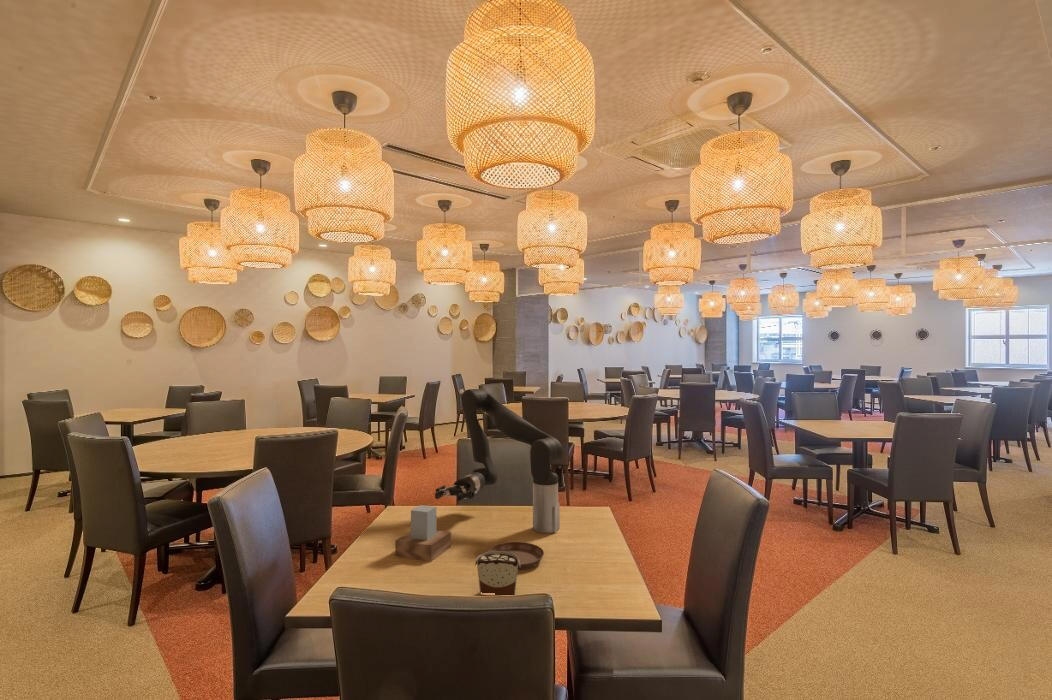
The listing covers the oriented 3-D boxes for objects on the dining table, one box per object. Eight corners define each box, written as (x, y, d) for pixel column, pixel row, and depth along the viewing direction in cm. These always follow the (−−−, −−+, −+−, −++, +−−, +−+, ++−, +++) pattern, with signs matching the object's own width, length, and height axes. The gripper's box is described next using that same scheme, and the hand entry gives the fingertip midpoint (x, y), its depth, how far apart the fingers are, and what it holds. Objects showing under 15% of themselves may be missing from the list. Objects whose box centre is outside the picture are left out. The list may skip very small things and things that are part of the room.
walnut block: (450, 546, 179) (450, 532, 179) (431, 561, 167) (431, 545, 167) (416, 542, 184) (416, 527, 184) (395, 556, 171) (395, 540, 171)
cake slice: (522, 587, 150) (522, 551, 150) (520, 597, 143) (520, 559, 143) (479, 584, 151) (479, 549, 151) (474, 594, 145) (474, 557, 145)
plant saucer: (532, 577, 157) (532, 566, 157) (478, 568, 163) (478, 558, 163) (551, 555, 173) (551, 545, 173) (500, 548, 179) (500, 539, 179)
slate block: (436, 534, 177) (436, 506, 177) (427, 540, 172) (427, 512, 172) (420, 532, 179) (420, 505, 179) (410, 538, 174) (410, 510, 174)
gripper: (450, 475, 206) (429, 485, 190) (484, 477, 201) (465, 487, 186) (450, 494, 206) (429, 506, 190) (484, 497, 201) (465, 509, 186)
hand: (447, 497), depth 188 cm, fingers open, 8 cm apart
